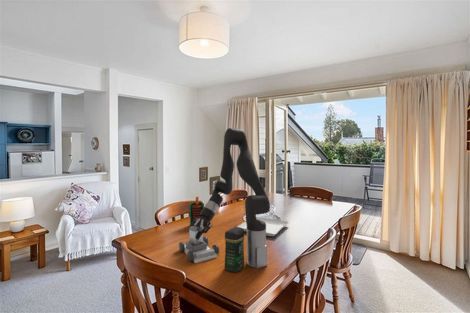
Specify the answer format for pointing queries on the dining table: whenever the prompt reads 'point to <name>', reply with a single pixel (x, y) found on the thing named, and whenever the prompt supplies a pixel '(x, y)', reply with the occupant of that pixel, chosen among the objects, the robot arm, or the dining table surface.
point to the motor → (195, 210)
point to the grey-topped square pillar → (193, 233)
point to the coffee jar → (234, 249)
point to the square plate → (269, 225)
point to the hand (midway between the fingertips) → (193, 237)
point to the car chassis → (199, 251)
